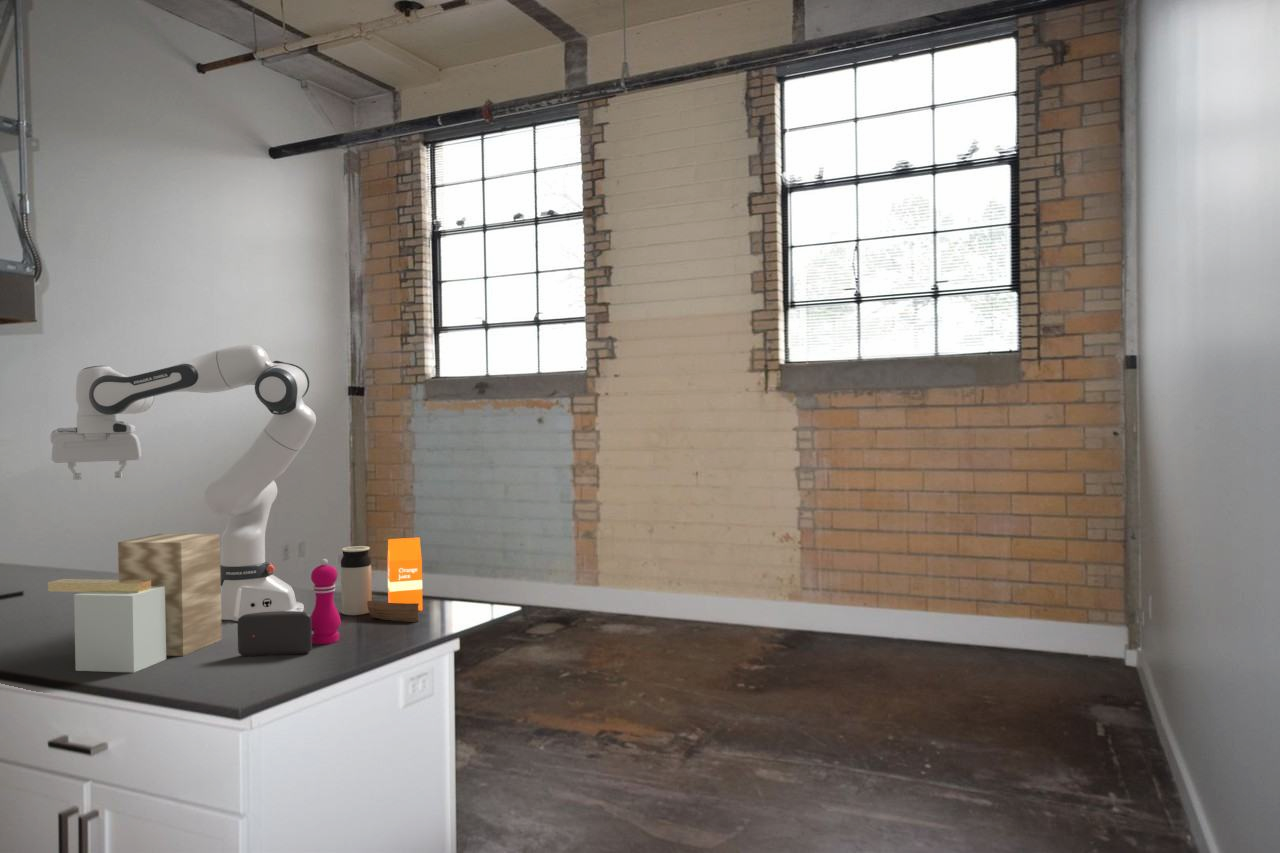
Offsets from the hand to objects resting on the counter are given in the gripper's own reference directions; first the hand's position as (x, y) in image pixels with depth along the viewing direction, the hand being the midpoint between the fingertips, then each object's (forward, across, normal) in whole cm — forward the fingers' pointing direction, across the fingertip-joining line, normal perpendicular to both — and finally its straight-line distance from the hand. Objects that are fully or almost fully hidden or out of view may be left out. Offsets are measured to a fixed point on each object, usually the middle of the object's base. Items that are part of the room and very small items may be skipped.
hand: (98, 478), depth 228 cm
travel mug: (+40, +64, -16) cm, 77 cm away
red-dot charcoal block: (+40, +44, -53) cm, 79 cm away
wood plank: (+40, +72, -29) cm, 88 cm away
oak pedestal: (+39, +21, -35) cm, 56 cm away
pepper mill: (+40, +54, -45) cm, 81 cm away
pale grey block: (+39, +12, -47) cm, 63 cm away
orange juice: (+40, +77, -17) cm, 88 cm away
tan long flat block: (+23, +8, -45) cm, 51 cm away
